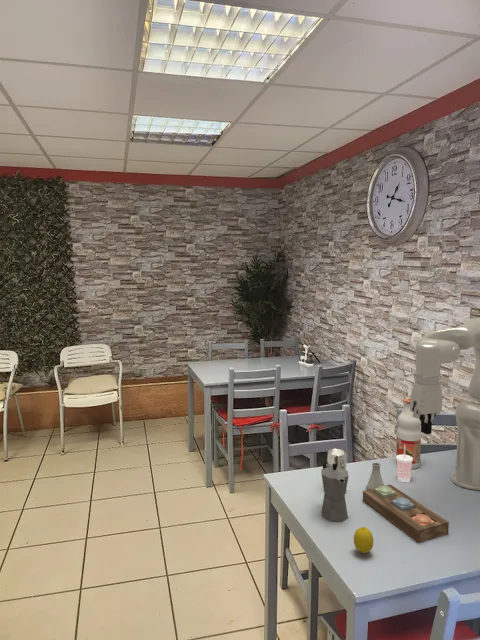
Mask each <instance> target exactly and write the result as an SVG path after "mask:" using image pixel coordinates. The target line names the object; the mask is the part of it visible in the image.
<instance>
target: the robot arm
mask: <svg viewBox="0 0 480 640" xmlns="http://www.w3.org/2000/svg"><path fill="white" fill-rule="evenodd" d="M472 347H473V351H474V355H475V358H476V359H475V361H476V363H475V366H474V367H475V368H474V370H473V373H472V376H471V378H470V379H471V380H470V382H469V385H468V388H467V389H468V390H467V393H468V396H469V398H472V399H473V400H475V401H471V400H469V401H468V400H464V401H461V402H459V403H458V404H457V405H456V406H455V407H456V408H455V412H454V413H455V414H454V415H455V419H456V426H457V429H456V430H457V439H456V440H457V441H456V445H457V446H456V462H455V463H456V464H455V465H456V467H455V473H453V474H452V475H451V481H452V482H453V484H455V485H456V486H459V487H461V488H463V489H467V490H474V491H479V490H480V317H474V318H471V319H470V320H468V321H466V322H464V323H462V324H460V325H459V326H456V327H453V328H447V329H443V330H437V331H433V332H430V333H427V334H426V335H423V336H422V337H421V338H420V339H418V341H417V342H416V344H415V348H414V351H415V380H414V381H415V383H413V385H412V388H411V393H410V399H411V400H410V411H412V412H413V417H415V418H419V420H420V421H421V425H420V431H421V434H422V433H423V434H425V435H427V436H428V435H432V428H433V427H432V425H433V424H432V423H433V422H434V420H435V417H436V416H438V415H440V414H441V411H442V410H443V409H442V408H443V389H442V385H441V378H442V375H441V364H451V363H455V362H456V361H457V360H458V359H459V358H460V357H461V351H463V350H469V349H471V348H472ZM477 401H478V402H477Z"/></svg>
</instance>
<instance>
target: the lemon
mask: <svg viewBox="0 0 480 640" xmlns="http://www.w3.org/2000/svg"><path fill="white" fill-rule="evenodd" d="M353 544H354V547H355V548H356V550H357V551H359V552H360V553H361V554H366V553H369V552H371V551H372V549H373V547H374V536H373V533H372V532H371V530H370V529H369V528H367V527H365V526H362V527H361V526H360V527H358V528H356V530H355V532H354V534H353Z"/></svg>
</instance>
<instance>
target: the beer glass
mask: <svg viewBox="0 0 480 640" xmlns="http://www.w3.org/2000/svg"><path fill="white" fill-rule="evenodd" d="M326 459H327V460H326V462H327V463H328V464H330V465H331V467H333V465H332V464H337V467H340V468H342V469H344V470H346V469H347V452H346V451H345V450H343V449H341V448H331V449H328V450H327V458H326Z"/></svg>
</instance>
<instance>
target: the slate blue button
mask: <svg viewBox="0 0 480 640" xmlns="http://www.w3.org/2000/svg"><path fill="white" fill-rule="evenodd" d="M392 505H394V506H395V507H396V508H398V509H399V510H401V511H405V510H409V509H413V508H414V504H413V503H411V502H410V500H409V499H407V498H403V497H399V498H396V500H392Z"/></svg>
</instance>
